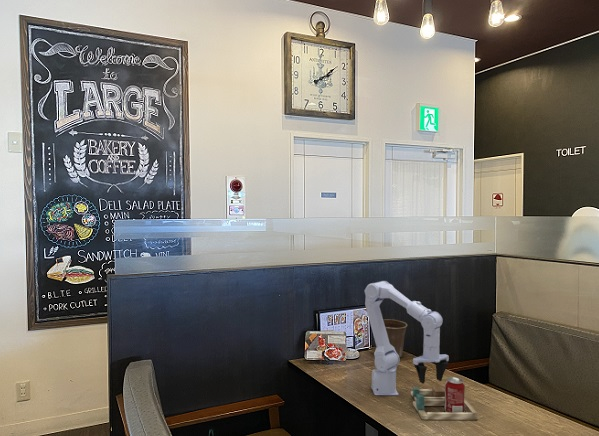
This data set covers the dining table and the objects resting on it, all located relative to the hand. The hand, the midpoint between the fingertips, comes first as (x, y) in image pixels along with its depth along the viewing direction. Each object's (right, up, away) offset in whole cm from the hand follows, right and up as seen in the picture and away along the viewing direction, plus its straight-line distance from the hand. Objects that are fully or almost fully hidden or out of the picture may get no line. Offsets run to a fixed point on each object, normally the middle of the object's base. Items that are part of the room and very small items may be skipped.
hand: (430, 381), depth 170 cm
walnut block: (+5, -10, +7) cm, 13 cm away
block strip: (+3, -9, +7) cm, 12 cm away
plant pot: (-4, -8, +58) cm, 58 cm away
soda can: (+7, -10, -4) cm, 13 cm away
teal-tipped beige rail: (+4, -10, -4) cm, 11 cm away
